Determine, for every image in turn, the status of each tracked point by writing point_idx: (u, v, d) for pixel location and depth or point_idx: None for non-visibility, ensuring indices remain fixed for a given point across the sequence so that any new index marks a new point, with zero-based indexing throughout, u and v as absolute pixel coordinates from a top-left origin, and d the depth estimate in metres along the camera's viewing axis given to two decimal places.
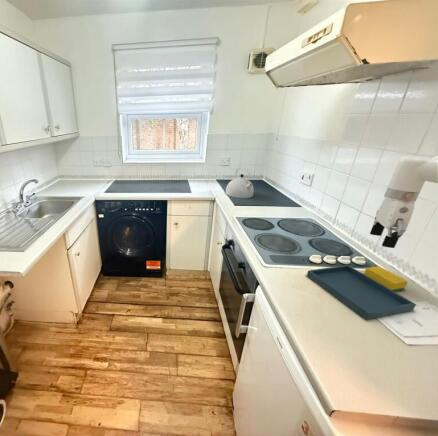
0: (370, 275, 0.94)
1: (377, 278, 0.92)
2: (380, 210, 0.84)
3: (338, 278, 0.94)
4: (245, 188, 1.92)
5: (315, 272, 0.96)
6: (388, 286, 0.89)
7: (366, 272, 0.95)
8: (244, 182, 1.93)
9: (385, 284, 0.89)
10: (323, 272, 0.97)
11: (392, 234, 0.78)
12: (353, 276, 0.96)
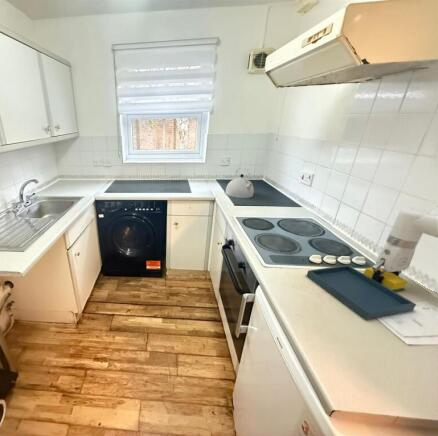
0: (370, 275, 0.94)
1: None
2: None
3: (338, 278, 0.94)
4: (245, 188, 1.92)
5: (315, 272, 0.96)
6: (388, 286, 0.89)
7: (366, 272, 0.95)
8: (244, 182, 1.93)
9: (385, 284, 0.89)
10: (323, 272, 0.97)
11: None
12: (353, 276, 0.96)
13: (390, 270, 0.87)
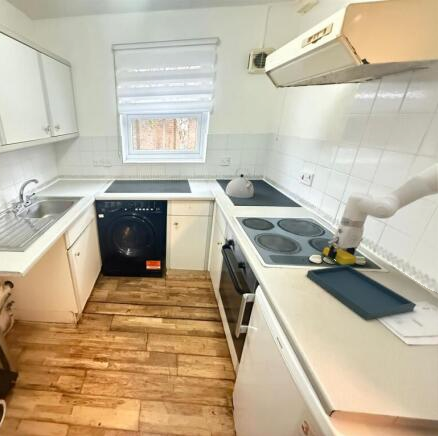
0: (327, 253, 1.09)
1: None
2: None
3: (338, 278, 0.94)
4: (245, 188, 1.92)
5: (315, 272, 0.96)
6: (340, 261, 1.04)
7: (324, 251, 1.11)
8: (244, 182, 1.93)
9: (338, 260, 1.05)
10: (323, 272, 0.97)
11: None
12: (353, 276, 0.96)
13: (343, 247, 1.01)
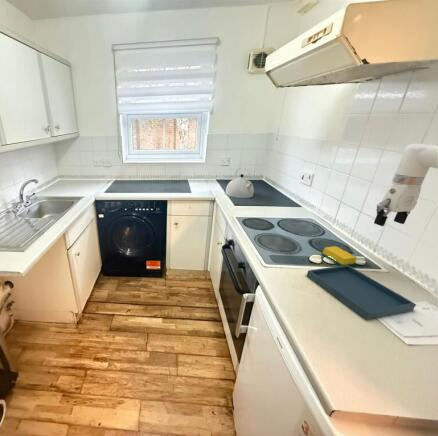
0: (327, 253, 1.09)
1: (332, 255, 1.07)
2: None
3: (338, 278, 0.94)
4: (245, 188, 1.92)
5: (315, 272, 0.96)
6: (340, 261, 1.04)
7: (324, 251, 1.11)
8: (244, 182, 1.93)
9: (338, 260, 1.05)
10: (323, 272, 0.97)
11: None
12: (353, 276, 0.96)
13: (396, 210, 0.85)
